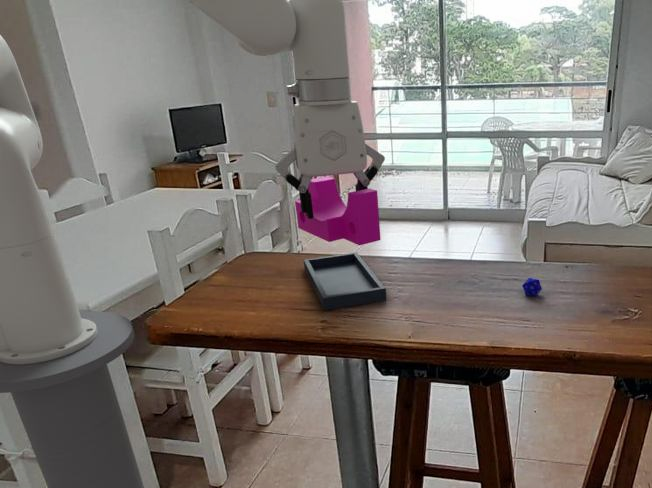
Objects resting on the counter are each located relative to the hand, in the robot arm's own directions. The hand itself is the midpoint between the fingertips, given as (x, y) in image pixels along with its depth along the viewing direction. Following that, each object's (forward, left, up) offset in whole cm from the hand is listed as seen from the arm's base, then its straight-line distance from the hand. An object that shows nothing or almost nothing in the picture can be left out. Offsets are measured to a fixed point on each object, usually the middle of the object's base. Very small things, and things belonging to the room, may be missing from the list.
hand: (335, 213), depth 89 cm
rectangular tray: (0, 0, -12) cm, 12 cm away
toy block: (0, 0, -4) cm, 4 cm away
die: (+26, -16, -12) cm, 33 cm away
